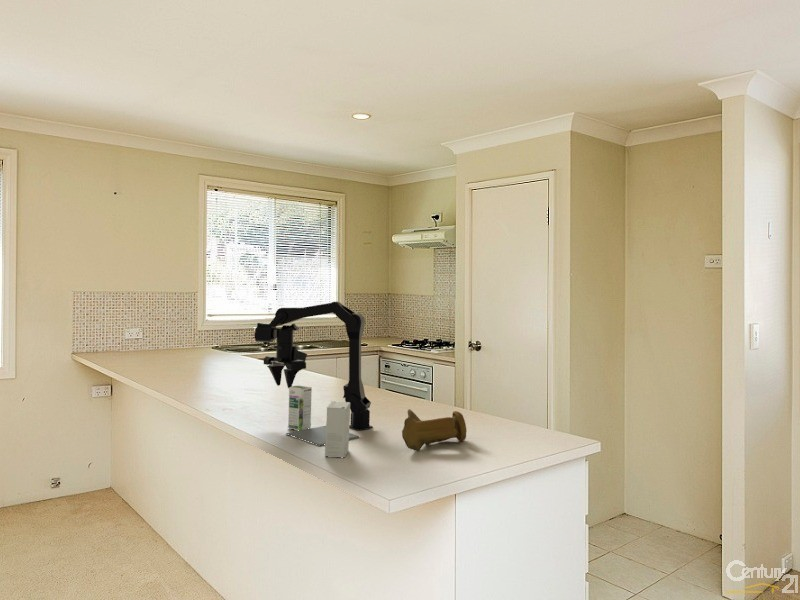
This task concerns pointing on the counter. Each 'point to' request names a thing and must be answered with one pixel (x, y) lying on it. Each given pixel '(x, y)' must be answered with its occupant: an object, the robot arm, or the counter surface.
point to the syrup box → (299, 407)
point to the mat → (315, 435)
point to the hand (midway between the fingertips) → (284, 386)
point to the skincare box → (337, 429)
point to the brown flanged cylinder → (432, 430)
